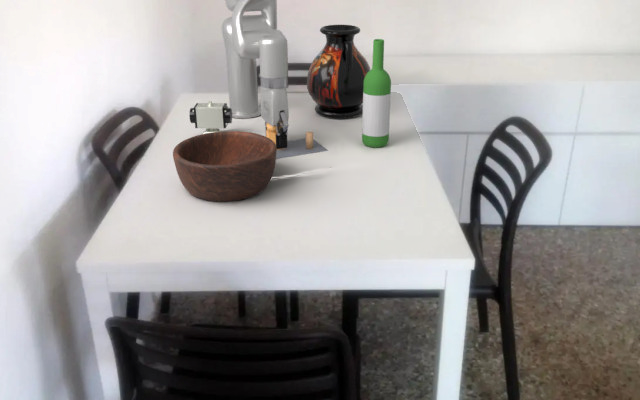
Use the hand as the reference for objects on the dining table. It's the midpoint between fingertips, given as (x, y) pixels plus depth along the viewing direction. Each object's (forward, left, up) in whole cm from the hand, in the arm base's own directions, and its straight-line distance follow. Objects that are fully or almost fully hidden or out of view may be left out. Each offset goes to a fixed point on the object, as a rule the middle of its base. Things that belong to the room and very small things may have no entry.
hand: (276, 143), depth 181 cm
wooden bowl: (+18, -20, -3) cm, 27 cm away
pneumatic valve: (-16, -14, -2) cm, 21 cm away
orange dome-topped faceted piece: (0, 0, -1) cm, 1 cm away
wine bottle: (+7, +28, -2) cm, 29 cm away
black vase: (-25, +32, -3) cm, 41 cm away
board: (+3, +3, -2) cm, 5 cm away
